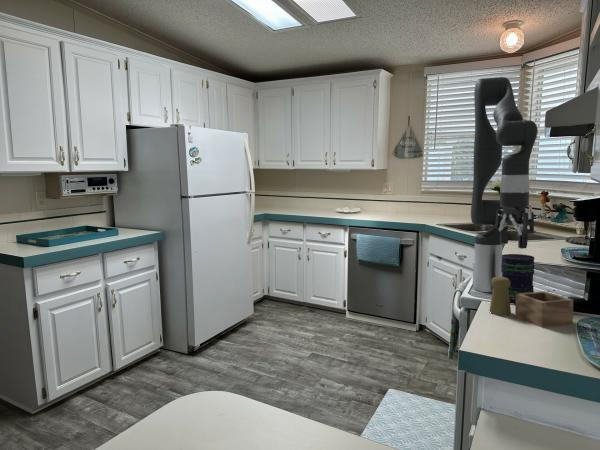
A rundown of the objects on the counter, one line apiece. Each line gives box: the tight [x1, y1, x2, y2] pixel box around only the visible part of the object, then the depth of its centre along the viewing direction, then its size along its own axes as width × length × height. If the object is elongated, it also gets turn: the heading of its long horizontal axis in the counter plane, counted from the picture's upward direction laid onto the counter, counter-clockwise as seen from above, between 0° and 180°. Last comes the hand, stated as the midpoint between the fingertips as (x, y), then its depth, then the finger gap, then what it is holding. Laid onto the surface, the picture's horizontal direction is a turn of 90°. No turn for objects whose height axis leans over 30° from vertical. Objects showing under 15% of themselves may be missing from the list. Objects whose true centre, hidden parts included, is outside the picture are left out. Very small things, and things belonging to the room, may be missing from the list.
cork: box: [488, 277, 512, 316], centre depth 126 cm, size 6×6×11 cm
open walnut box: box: [514, 290, 574, 328], centre depth 119 cm, size 10×10×7 cm
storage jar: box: [501, 253, 535, 305], centre depth 138 cm, size 10×10×15 cm
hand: (513, 245), depth 123 cm, fingers open, 8 cm apart
